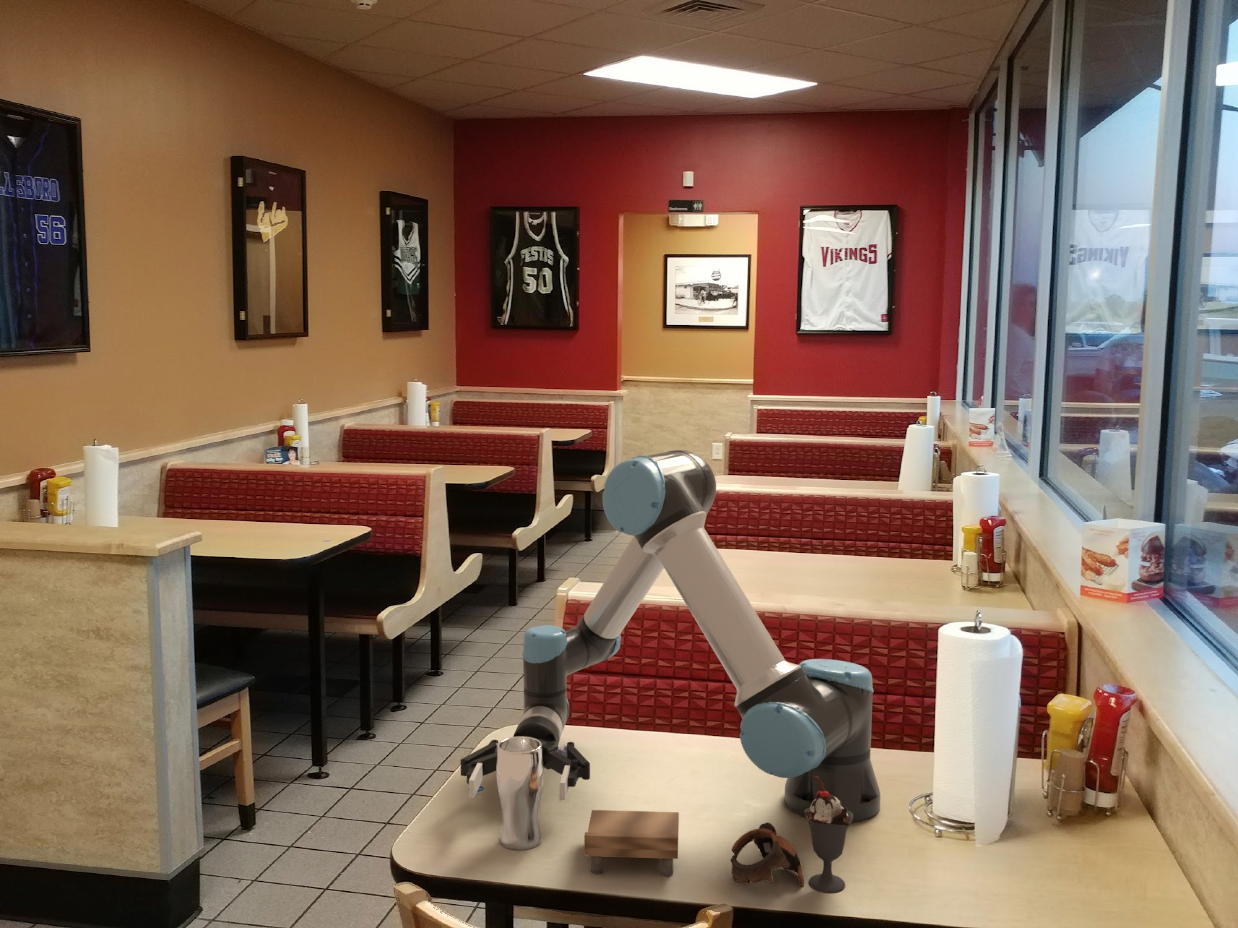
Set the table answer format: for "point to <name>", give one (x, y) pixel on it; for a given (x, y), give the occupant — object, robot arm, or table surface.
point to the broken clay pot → (765, 856)
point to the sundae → (827, 837)
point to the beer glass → (520, 790)
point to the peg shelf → (632, 837)
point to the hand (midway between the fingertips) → (516, 790)
